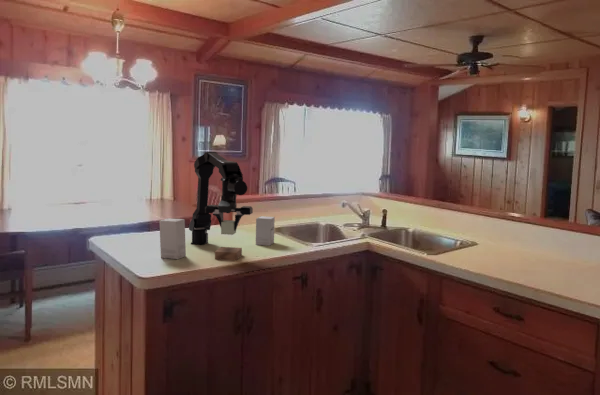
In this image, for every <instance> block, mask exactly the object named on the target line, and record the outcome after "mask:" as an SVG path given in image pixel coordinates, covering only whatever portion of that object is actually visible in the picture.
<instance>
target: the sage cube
mask: <svg viewBox="0 0 600 395" xmlns="http://www.w3.org/2000/svg"><path fill="white" fill-rule="evenodd" d="M234 225H235V220H231V219H230V220H227V219H226V220H225V219H223V221H222V222H221V227H220V235H228V236H229V235H231V236H232V235H235V234H236V233H237V230H236V231H234Z"/></svg>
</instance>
